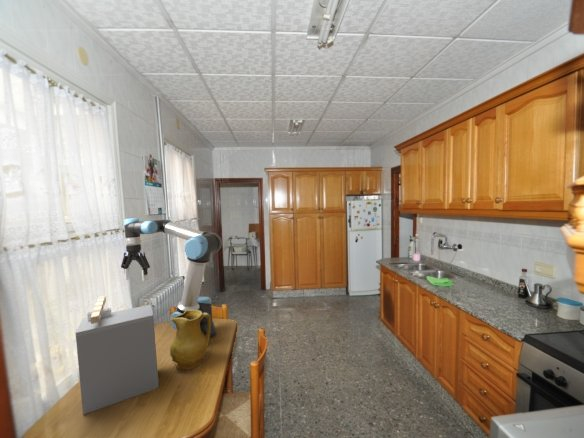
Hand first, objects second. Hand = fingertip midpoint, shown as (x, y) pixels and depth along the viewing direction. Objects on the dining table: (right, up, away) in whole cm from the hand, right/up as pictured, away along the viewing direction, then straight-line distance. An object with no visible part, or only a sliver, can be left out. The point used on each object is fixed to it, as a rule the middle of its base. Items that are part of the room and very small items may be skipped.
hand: (136, 279), depth 157 cm
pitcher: (+43, -36, -25) cm, 61 cm away
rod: (+10, -3, -44) cm, 45 cm away
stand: (+20, -38, -42) cm, 60 cm away
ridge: (+10, -6, -44) cm, 45 cm away
